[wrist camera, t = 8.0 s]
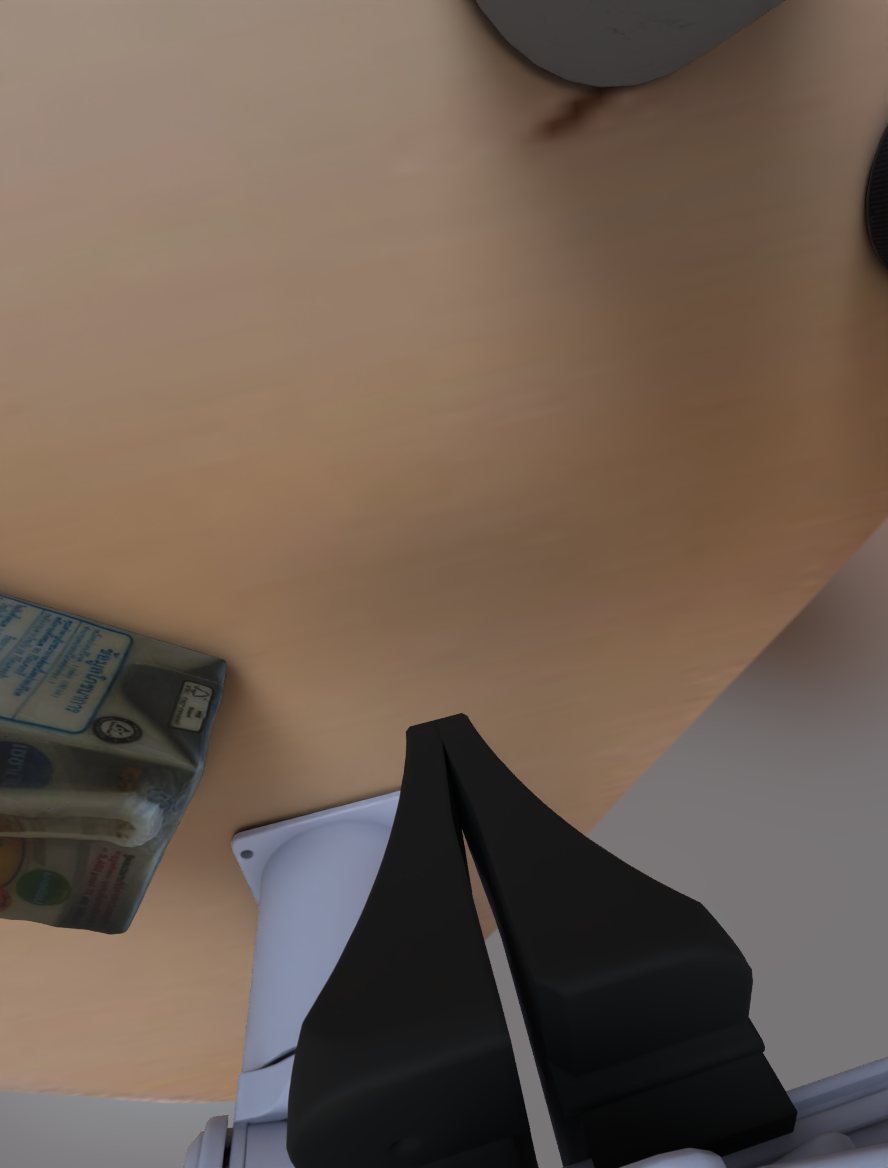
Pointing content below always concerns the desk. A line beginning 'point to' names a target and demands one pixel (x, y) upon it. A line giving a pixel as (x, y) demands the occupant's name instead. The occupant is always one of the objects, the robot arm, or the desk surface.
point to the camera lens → (879, 202)
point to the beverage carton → (93, 762)
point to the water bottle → (619, 34)
